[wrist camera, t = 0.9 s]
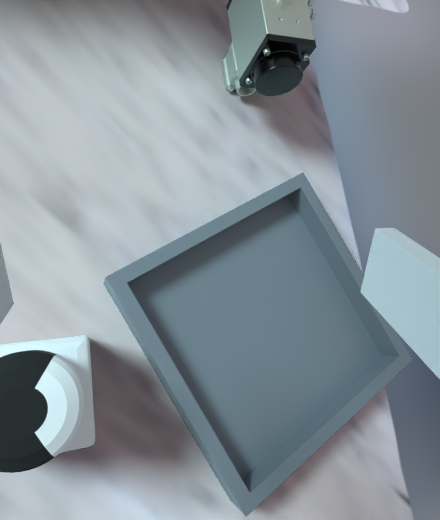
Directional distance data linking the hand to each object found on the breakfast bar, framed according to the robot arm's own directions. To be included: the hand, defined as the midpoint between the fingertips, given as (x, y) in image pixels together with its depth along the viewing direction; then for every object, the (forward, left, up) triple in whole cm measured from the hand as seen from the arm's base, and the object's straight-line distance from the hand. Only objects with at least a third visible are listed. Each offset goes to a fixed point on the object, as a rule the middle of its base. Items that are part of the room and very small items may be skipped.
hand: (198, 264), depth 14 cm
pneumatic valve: (-16, +23, -22) cm, 36 cm away
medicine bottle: (+2, -9, -22) cm, 24 cm away
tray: (+8, +10, -22) cm, 25 cm away
